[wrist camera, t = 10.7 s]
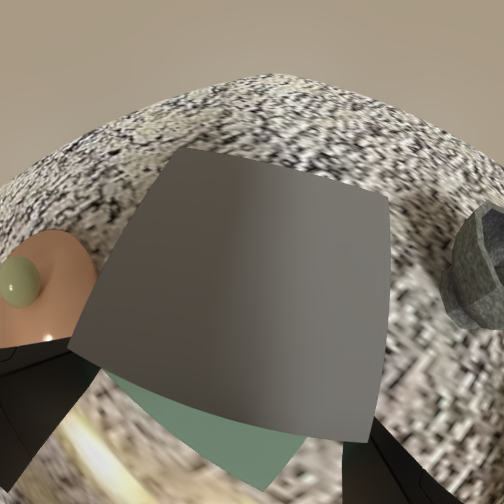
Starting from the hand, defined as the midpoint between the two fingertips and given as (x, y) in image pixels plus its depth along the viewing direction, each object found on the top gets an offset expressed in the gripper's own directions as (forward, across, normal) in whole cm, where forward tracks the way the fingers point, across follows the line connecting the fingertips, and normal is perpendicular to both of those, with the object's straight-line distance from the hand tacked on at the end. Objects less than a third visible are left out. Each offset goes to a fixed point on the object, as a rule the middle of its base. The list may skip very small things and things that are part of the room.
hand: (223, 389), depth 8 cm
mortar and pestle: (+12, -18, -2) cm, 22 cm away
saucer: (+6, +16, +5) cm, 17 cm away
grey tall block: (+7, 0, +3) cm, 7 cm away
